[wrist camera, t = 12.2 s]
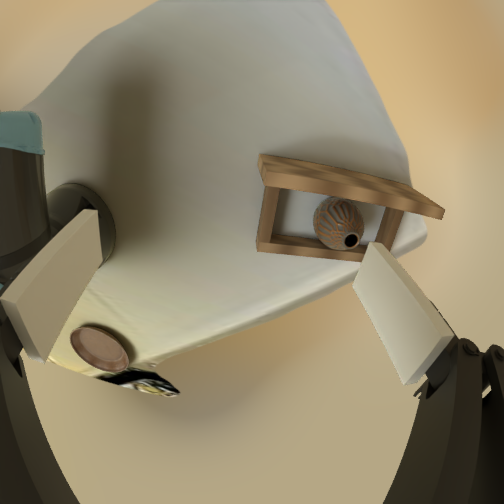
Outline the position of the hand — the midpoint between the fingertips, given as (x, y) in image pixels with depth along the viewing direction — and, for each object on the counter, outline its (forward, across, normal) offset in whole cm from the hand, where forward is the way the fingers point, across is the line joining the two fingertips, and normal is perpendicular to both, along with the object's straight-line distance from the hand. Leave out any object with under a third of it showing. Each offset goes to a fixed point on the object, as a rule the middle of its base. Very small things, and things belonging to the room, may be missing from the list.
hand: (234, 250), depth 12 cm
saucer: (+27, -25, -43) cm, 56 cm away
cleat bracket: (+25, +16, -6) cm, 30 cm away
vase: (+26, +16, -6) cm, 31 cm away
